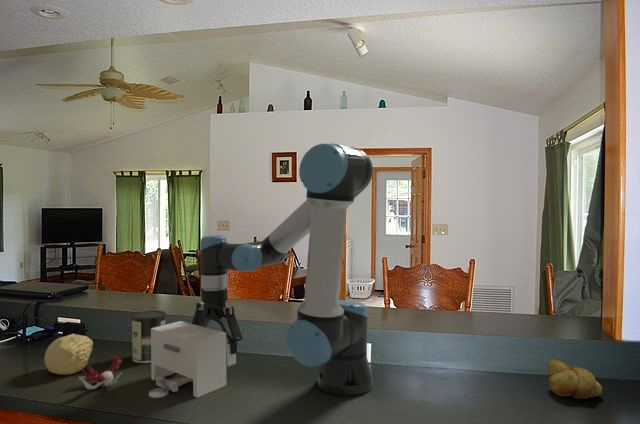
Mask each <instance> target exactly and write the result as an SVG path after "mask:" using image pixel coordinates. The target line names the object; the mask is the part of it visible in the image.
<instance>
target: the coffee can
mask: <svg viewBox="0 0 640 424" xmlns="http://www.w3.org/2000/svg"><path fill="white" fill-rule="evenodd" d="M166 316H167V313H166V312H165V311H162V310H145V311H144V310H143V311H139V312H135V313H133V314H132V315H131V319H132V320H131V322H132V323H131V331H132V332H131V334H132V335H131V336H132V345H131V346H132V357H131V358H132V362H134V363H138V364H151V328H155V327H159V326H163V325H167V324H166V323H167V322H166V321H167V320H166V318H167V317H166Z"/></svg>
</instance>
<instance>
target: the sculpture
mask: <svg viewBox="0 0 640 424" xmlns="http://www.w3.org/2000/svg"><path fill="white" fill-rule="evenodd" d="M93 344H94V342H93V340H92V339H91V338H89V337H88V336H86V335H81V334H76V333H71V334H68V335H66V336H65V335H64V336H61V337H58V338H56V339H55V340H53V341H52V342H51V343H50V344H49V345H48V347H47V348H46V351H45V353H44V365H45V367H46V368H47V370H48V371H49V372H50V373H52V374H54V375H61V376H62V375H63V376H68V375H69V376H70V375H73V374H76V373H78V372H80V371H82V370H84V369H85V368H86V366H87V365H88V362H89V358H90V355H91V354H92V352H93Z"/></svg>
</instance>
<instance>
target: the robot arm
mask: <svg viewBox="0 0 640 424" xmlns="http://www.w3.org/2000/svg"><path fill="white" fill-rule="evenodd" d="M373 167H374V166H373V163H372V161H371V159H370V156H368V154H367V153H366V152H365V151H363V150H362V149H359V148H356V147H353V146H351V147H350V146H345V145H342V144H338V143H318V144H315V145H314V146H312V147H311V148H310V149H309V150H307V151H306V152H305V154H303V157H302V158H301V160H300V164H299V171H298V173H299V179H300V182H302V185H303V186H304V188H305V189H306V195H305V196H306V197H305V198H306V200H305V201H304V202H302V204H300V205H299V206H297V208H296V209H295V210H294V211H293V212H292V213H291V214H290V215H289V216H287V218H285V220H283V221H282V222H281V223H280V224H279V225H278V226H277V227H276V228H274V230H273V231H272V232H271V233H270V234H269V235H267V236H266V237H265V238H264V239H262V240H261V241H254V242H253V241H251V242H245V243H228V241H227V236H225V235H206V236H203V237H201V238H200V249H199V252H200V287H201V291H200V292H201V293H200V294H201V296H200V297H201V300H200V301H199V302H196V304H195V307H196V308H195V312H194V315H193V318H192V321H191V324H194V325H198V326H202V327H206V328H207V325H208V324H209V323H210V321H213V322H216V323H217V324H219V325H220V327H221V330H222V332H225V333H226V340H227V341H228V342H226V367H230V366H234V365H236V364H237V353H238V342H240V341H242V340H243V335H242V333H241V329H240V327H239V323H238V321H237V318H236V314H235V308H234V306H229V307H227V305H226V302H227V301H228V297H229V296H228V293H229V291H228V288H227V287H228V271H229V270H230V271H237V272H242V273H246V272H247V273H248V272H255V271H257V270H258V269H259V268H260V267H261V268H262V267H266V266H275V265H277V264H280V263H283V262H284V261H285V260H286V258H287V256H288V253H289V251H290V250H291V249H292V248H294V247H295V246H296V245H297V244H298V243H299V242H300V241H302V240H303V239H304V238H305V237H306V236H307V235H308V234H309V235H308V236H309V238H308V250H307V261H306V263H307V264H306V273H305V287H304V288H305V289H304V298H303V301H302V302H301V303H299V305H298V306H297V310H296V311H297V312H296V313H297V314H296V320H295V321H293V322H292V323H291V325H289V327H288V329H287V330H286V331H287V332H286V335H285V336H286V339H285V340H286V346H287V348H288V351H289V353H291V354H292V356H293V358H294V359H295V360H296V361H297V362H299V363H300V364H301V365H303V366H306V367H311V368H312V367H313V368H314V367H318V366H320V365H321V367H320V370H319V372H318V376H317V378H318V379H317V385H318V387H319V388H320V390H322V391H324V392H326V393H329V394H332V395H335V396H336V395H337V396H358V395H362V394H366V393H367V392H369V391H370V390H372V388H374V376H373V374H372V369H371V367H370V363H369V360H368V353H367V352H368V351H367V350H368V318H369V317H368V309H367V306H366V304H364V303H362V302H359V301H354V300H353V301H352V300H343V299H340V291H341V282H342V281H341V279H342V269H343V268H342V267H343V265H342V264H343V254H344V245H345V244H344V243H345V231H346V221H347V210H348V208H349V207H350V206H351V205H352V204H353V203H354V201H355V198H357V196H358V195H360V194H362V192H363V191H364V190H365V189H366V188H367V187H368V186H369V184H370V183H371V181H372V178H373V175H374V174H373V173H374V169H373Z"/></svg>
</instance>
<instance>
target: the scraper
mask: <svg viewBox="0 0 640 424" xmlns="http://www.w3.org/2000/svg"><path fill="white" fill-rule="evenodd" d="M192 382H193V379H192V378H189V377H186V376H184V375H181V374H179V375H178V376H174V377H171V378H166V377H157V378H156V380H155V385H156V386H158V387H159V388H165V389H167V390H169V392H170V391H171V392H172V393H175V392H176V393H177V392H179V387H180V386H181V387H182V386H183V385H186V384H189V383H192Z"/></svg>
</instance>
